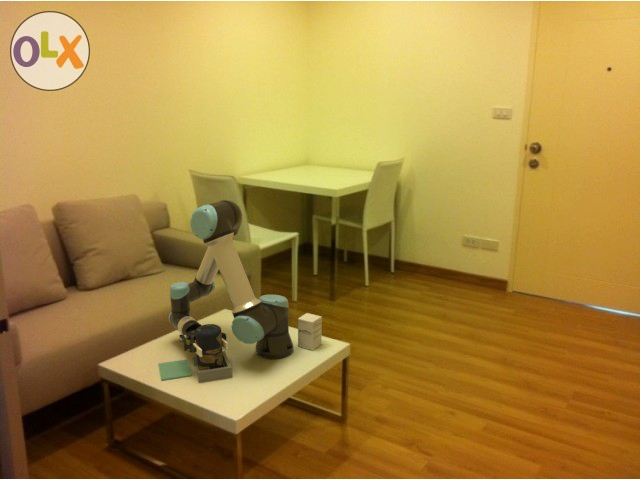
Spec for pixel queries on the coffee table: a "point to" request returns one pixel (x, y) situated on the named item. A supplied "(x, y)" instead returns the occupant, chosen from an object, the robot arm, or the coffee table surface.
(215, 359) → the canister
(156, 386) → the coffee table surface
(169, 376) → the mat
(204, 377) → the frame
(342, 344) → the coffee table surface
